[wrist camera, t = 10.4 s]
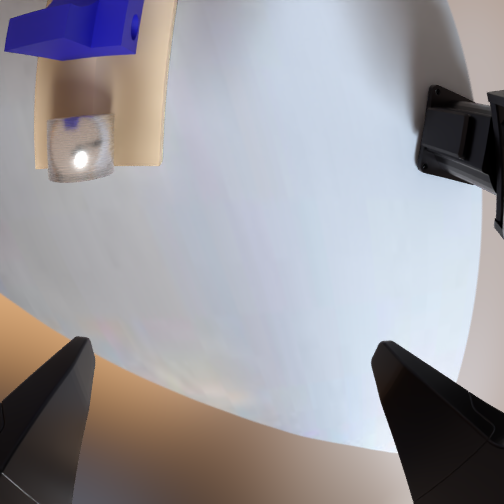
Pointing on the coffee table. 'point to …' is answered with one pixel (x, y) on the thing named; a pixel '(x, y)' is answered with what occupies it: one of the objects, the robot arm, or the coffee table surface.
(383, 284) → the coffee table surface
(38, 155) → the light wooden board
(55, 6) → the cable clip
